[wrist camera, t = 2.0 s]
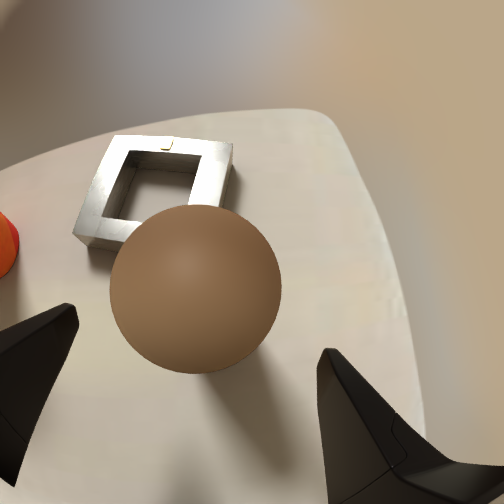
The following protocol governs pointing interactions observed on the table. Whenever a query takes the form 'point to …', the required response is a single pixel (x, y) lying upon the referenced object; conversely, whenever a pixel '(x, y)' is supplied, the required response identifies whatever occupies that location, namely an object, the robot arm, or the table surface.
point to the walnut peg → (195, 288)
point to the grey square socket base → (148, 157)
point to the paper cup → (7, 244)
